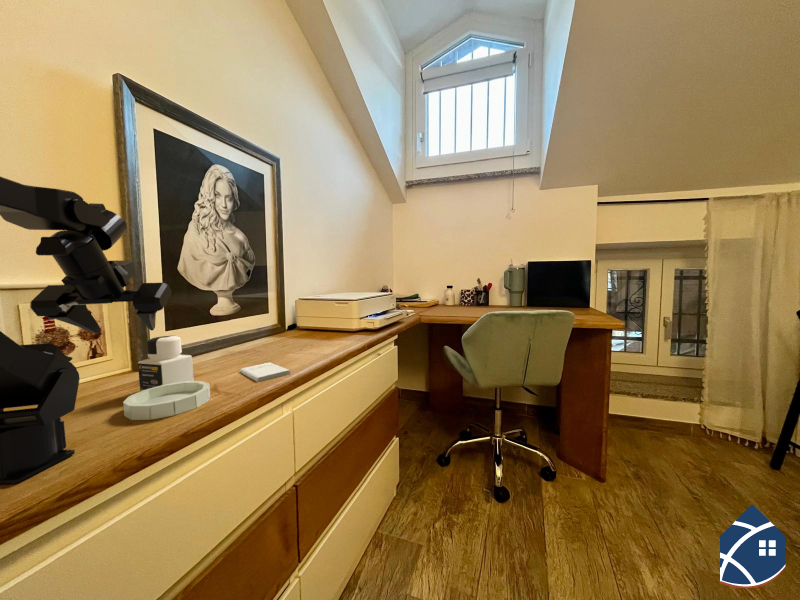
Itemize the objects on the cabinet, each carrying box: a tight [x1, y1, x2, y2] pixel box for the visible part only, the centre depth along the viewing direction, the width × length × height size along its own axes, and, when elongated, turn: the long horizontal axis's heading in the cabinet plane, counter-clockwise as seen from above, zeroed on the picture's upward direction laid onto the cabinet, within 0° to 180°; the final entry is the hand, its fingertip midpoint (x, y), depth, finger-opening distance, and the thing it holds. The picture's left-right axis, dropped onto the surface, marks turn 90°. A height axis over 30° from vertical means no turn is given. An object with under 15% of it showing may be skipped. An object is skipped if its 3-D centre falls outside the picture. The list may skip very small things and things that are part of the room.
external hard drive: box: [239, 362, 291, 383], centre depth 78 cm, size 2×8×12 cm
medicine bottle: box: [137, 335, 195, 392], centre depth 68 cm, size 7×7×12 cm
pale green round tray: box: [122, 380, 211, 421], centre depth 59 cm, size 13×13×2 cm
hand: (126, 330), depth 60 cm, fingers open, 9 cm apart
